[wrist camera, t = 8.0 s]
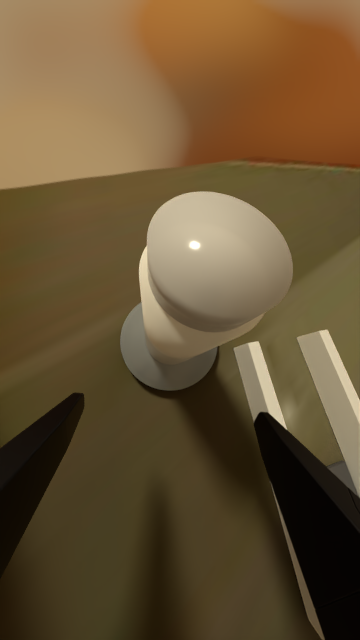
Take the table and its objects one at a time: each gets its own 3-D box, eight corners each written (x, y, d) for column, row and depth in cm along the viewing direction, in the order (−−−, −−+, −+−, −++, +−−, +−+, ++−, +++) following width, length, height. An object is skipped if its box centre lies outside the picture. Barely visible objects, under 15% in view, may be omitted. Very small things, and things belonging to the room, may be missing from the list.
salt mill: (205, 347, 18) (331, 280, 5) (162, 375, 16) (204, 369, 4) (179, 306, 18) (236, 173, 6) (136, 329, 17) (102, 207, 5)
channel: (396, 562, 15) (452, 604, 12) (307, 618, 13) (351, 685, 10) (303, 335, 21) (327, 329, 19) (233, 348, 19) (247, 343, 16)
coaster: (224, 378, 18) (228, 379, 17) (126, 400, 16) (124, 401, 15) (203, 294, 21) (205, 290, 20) (118, 302, 18) (116, 298, 18)
